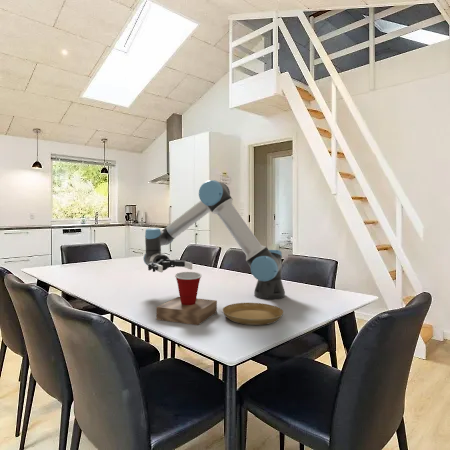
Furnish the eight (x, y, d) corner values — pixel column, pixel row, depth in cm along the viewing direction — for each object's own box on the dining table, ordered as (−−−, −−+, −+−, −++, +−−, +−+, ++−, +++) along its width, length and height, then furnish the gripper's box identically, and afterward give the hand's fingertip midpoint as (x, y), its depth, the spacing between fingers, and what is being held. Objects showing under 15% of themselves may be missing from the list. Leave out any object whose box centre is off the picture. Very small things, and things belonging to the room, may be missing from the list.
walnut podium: (216, 312, 153) (216, 300, 153) (198, 325, 136) (198, 311, 136) (178, 307, 159) (178, 296, 159) (156, 319, 143) (156, 306, 142)
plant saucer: (277, 309, 158) (277, 302, 158) (288, 327, 134) (288, 318, 134) (221, 309, 158) (221, 302, 158) (223, 328, 134) (223, 319, 133)
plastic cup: (177, 308, 141) (176, 277, 140) (173, 301, 151) (172, 272, 151) (204, 306, 144) (204, 275, 143) (198, 299, 154) (198, 271, 154)
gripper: (184, 267, 181) (203, 273, 163) (134, 272, 169) (148, 279, 151) (183, 252, 181) (202, 256, 163) (134, 256, 169) (148, 261, 150)
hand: (176, 267), depth 157 cm, fingers open, 13 cm apart
